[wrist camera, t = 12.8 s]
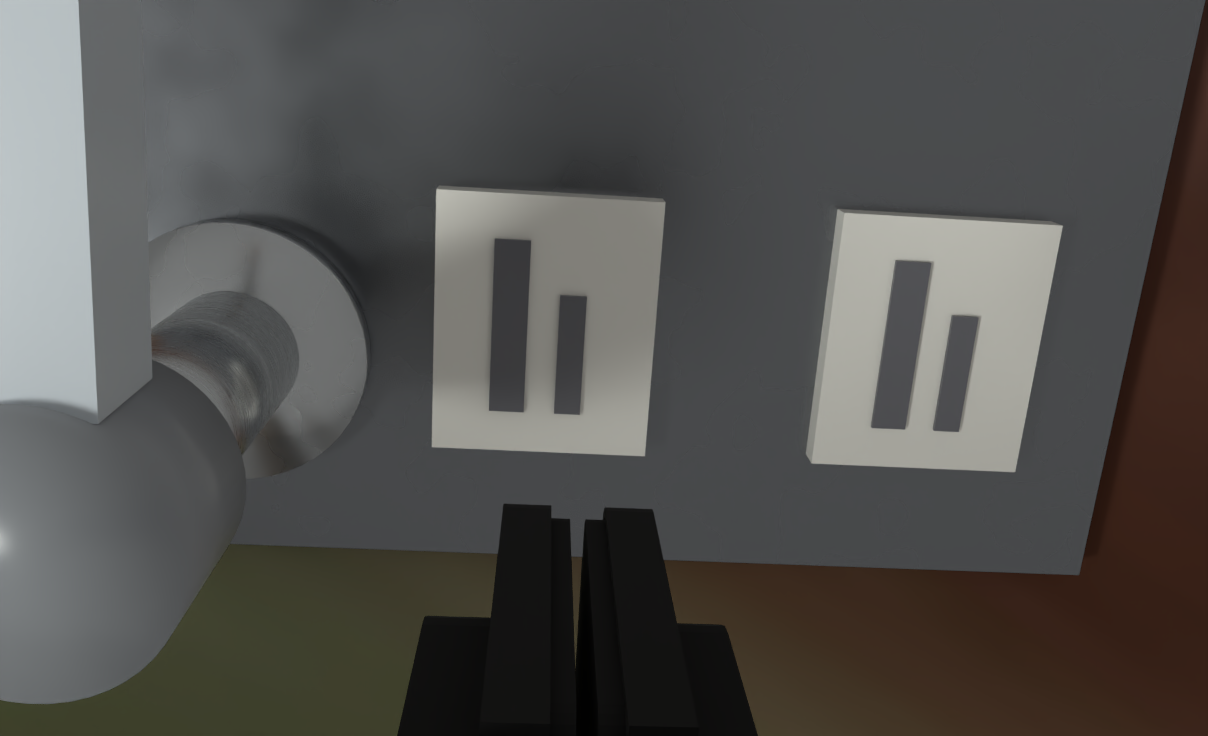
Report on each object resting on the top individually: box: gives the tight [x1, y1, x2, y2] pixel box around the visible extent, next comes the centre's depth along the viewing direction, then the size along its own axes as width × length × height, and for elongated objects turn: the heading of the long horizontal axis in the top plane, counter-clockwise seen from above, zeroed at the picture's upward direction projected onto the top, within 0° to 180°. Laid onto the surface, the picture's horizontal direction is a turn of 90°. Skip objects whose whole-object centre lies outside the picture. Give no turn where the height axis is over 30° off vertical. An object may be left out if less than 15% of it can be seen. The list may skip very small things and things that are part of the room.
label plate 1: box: [432, 185, 666, 456], centre depth 24 cm, size 6×5×1 cm
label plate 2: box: [806, 209, 1063, 472], centre depth 25 cm, size 6×5×1 cm
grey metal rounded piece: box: [148, 219, 371, 479], centre depth 21 cm, size 6×6×7 cm
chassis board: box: [141, 0, 1205, 575], centre depth 24 cm, size 20×24×1 cm
